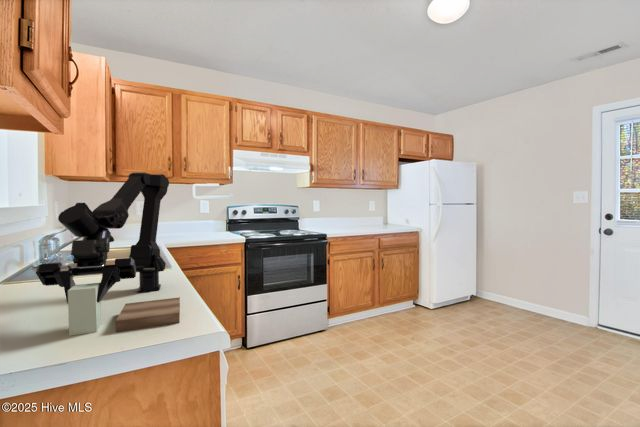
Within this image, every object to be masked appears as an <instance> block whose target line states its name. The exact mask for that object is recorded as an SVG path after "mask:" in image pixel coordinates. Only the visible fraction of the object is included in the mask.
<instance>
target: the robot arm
mask: <svg viewBox="0 0 640 427" xmlns="http://www.w3.org/2000/svg"><path fill="white" fill-rule="evenodd" d="M169 183H170V180H169V178H168V177H166V175H165V174H162V173H161V174H160V173H159V174H157V173H155V174H153V173H148V172H144V171H143V172H142V171H141V172H131V173H130V174H129V175H128V178H127V180H126V181H125V182H124V183H123V184H122V186H121V187H120V188H119V189H118V190H117V192H115V194H113V196H112V198H111V199H109V200H108V201H105V202H103V203H101V204H99V205H98V206H97V207H95V208H94V209H93V210H91V209H90V207H89V206H88V204H87V203H86V202H76V203H75V205H72V206H70V207H68V208H66V209H64V210H62V211H61V212H60V213H59V215H58V217H57V219H58V222H60V224H61V225H62V226H64V228H66V229H67V230H68V231H69V232H70V234H72V235H73V236H75V237H77V238H82V239H81V240H77V239H76V240H73V241H72V243H71V250H70V255H71V256H72V257H73V260H72V261H73V264H75V265H76V266H70V265H63V263H62V262H61V261H59V262H57V261H56V262H43V263H40V264H39V265H38V266H37V267H36V270H35V274H36V276H37V278H38V279H39V281H40V282H41V284H42V285H43V286H45V287H48V286H58V287H60V288H63V289H64V294H65V297H66V298H65V299H66V303H67V305H68V290H69V289H70V288H72V287H73V286H74V285H76V282H75V281H74V277H75V276H77V277H82V276H95V275H101V279H100V280H101V281H100V282H99V283H100V287H99V290H98V294H97V302H100V301H101V302H102V300H103V299H104V297H105V296H106V294H107V293H108V291H109V290H111V289H112V287H113V286H115V284H116V283H120V282H121V280H127V279H134V278H136V276H137V273H138V275H139V277H138V279H139V287H138V289H137V291H136V292H137V293H143V292H152V291H153V292H154V291H160V290H161V286H162V285H161V283H160V277H159V276H160V274H159V273H160V272H164V271H165V269H166V261H164V259H163V258H162V256H161V249H160V247H159V245H158V243H157V234H158V226H159V225H158V223H159V219H160V218H159V217H160V216H159V215H160V207H161V201H162V200H163V198H164V197H165V196H166V195H167V192H168V189H169V185H170V184H169ZM140 193H141V194H142V196H143V207H142V213H141V214H142V215H141V222H140V229H139V238H138V241H137V242H136V243H135V244H131V247H130V253H129V256H128V257H119V258H118V257H117V258H114V259H115V260H114V264H106V263H107V260H108V253H110V249H111V248H110V243H112V242H115V238H114V236H113V235H112V233H111V231H110V230H109V229H113V230H114V229H121V228H123V227H124V226H125V224H126V222H127V220H128V219H129V216H130V214H129V209H130V207H131V206H132V204H133V203H134V201H135V200H136V198H138V196H139V195H140Z"/></svg>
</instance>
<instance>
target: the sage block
mask: <svg viewBox="0 0 640 427" xmlns="http://www.w3.org/2000/svg"><path fill="white" fill-rule="evenodd" d="M100 283H101V282H93V283H92V282H91V283H80V284H75V285H74V286H73V287H72V288H70V289H69V290H68V304H67V308H68V335H69V336H70V337H71V336H78V335H84V334H85V335H86V334H91V333H97V332H98V331H99V329H100V327H101V326H102V325H103V318H102V316H103V314H102V313H103V311H102V310H103V309H102V306H103V305H102V300H101V301H100V302H97V294H98V290H99V287H100Z"/></svg>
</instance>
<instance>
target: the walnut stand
mask: <svg viewBox="0 0 640 427" xmlns="http://www.w3.org/2000/svg"><path fill="white" fill-rule="evenodd" d="M180 298H181V297H180V296H179V297H172V298H171V297H170V298H162V299H161V298H160V299H154V300H146V301H145V300H144V301H138V302H129V303H128V302H127V303H125V304H124V306H123V307H122V309H121V311H120V312H119V315H118V317H117V318H116V320H115V333H119V332H125V331H132V330H140V329H147V328H153V327H160V326H167V325H173V324H179V323H180V321H181V320H180V319H181V317H180V315H181V314H180V312H181V311H180V310H181V300H180Z"/></svg>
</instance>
